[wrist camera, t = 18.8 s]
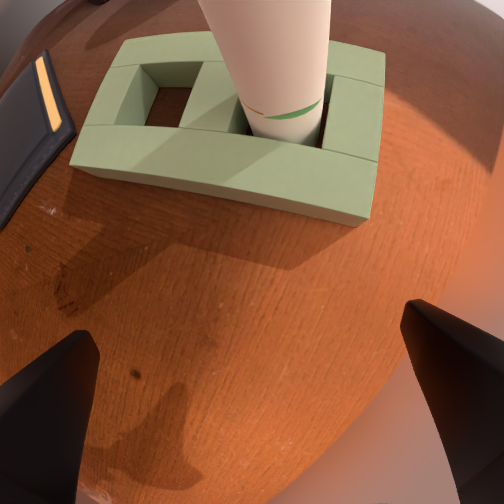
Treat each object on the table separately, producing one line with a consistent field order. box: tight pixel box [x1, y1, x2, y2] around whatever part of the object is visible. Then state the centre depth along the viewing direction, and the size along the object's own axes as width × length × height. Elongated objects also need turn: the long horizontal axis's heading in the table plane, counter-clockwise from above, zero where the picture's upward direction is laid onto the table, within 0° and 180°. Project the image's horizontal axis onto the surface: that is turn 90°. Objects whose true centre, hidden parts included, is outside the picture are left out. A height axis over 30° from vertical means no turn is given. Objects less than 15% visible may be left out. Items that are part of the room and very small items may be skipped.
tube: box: [198, 0, 331, 147], centre depth 10 cm, size 4×4×15 cm
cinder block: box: [69, 31, 385, 228], centre depth 17 cm, size 11×19×4 cm, turn 76°
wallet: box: [0, 49, 77, 230], centre depth 22 cm, size 20×2×15 cm
